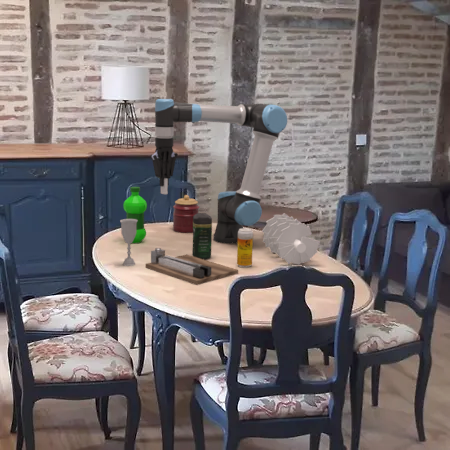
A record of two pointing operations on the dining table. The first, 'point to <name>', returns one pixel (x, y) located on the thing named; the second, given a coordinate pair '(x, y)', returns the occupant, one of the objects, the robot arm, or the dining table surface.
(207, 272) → the arm
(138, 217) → the plastic bottle
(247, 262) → the beer can
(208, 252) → the coffee jar
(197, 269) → the grey l-shaped bar
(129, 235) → the chalice
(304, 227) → the spiral staircase
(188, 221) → the canister
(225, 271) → the cutting board
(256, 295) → the dining table surface
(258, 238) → the dining table surface
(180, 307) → the dining table surface
